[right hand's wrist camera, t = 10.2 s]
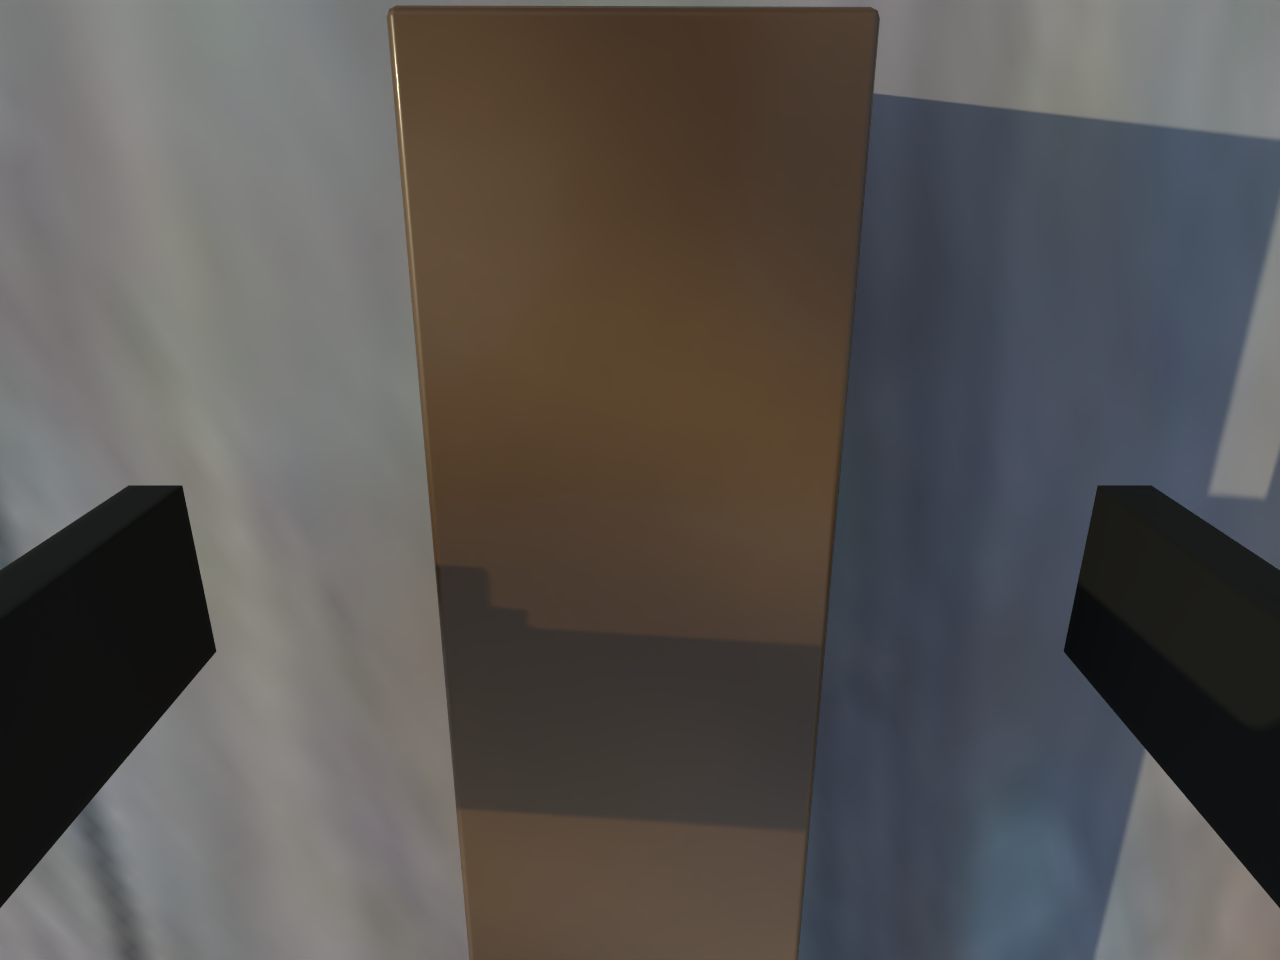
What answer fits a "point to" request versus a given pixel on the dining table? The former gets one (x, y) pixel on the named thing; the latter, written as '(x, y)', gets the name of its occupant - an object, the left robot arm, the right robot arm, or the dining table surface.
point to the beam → (633, 451)
